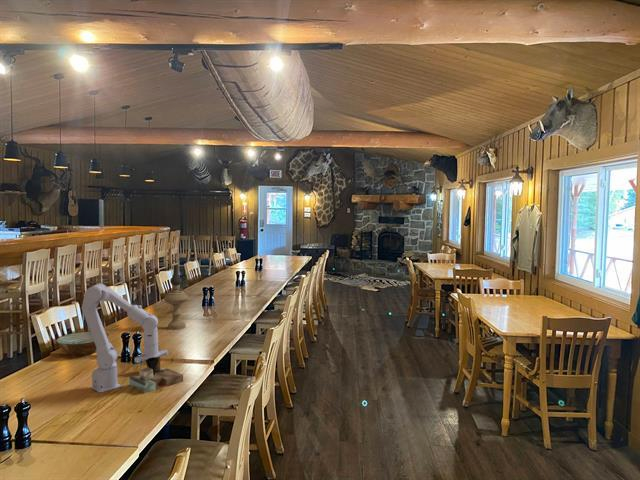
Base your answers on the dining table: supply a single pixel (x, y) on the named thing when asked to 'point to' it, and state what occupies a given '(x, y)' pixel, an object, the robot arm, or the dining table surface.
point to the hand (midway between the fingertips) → (152, 374)
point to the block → (146, 374)
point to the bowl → (78, 343)
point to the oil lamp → (176, 301)
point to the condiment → (158, 365)
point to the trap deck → (156, 381)
